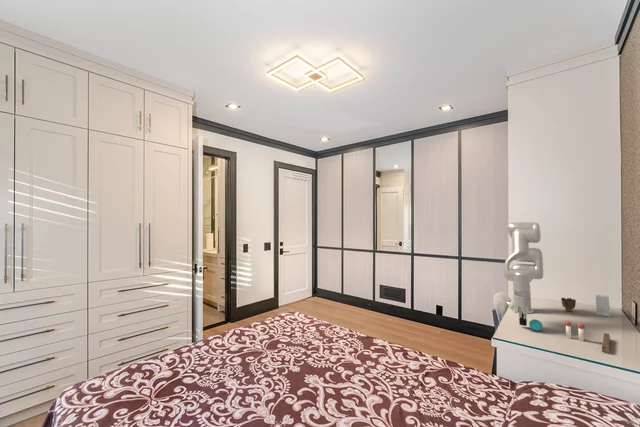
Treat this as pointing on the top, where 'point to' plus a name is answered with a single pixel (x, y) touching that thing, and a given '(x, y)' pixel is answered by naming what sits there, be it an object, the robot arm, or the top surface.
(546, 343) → the top surface
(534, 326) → the ball
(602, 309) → the skincare box
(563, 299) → the cup
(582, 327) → the pin
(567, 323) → the pin
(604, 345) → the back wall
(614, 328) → the top surface
